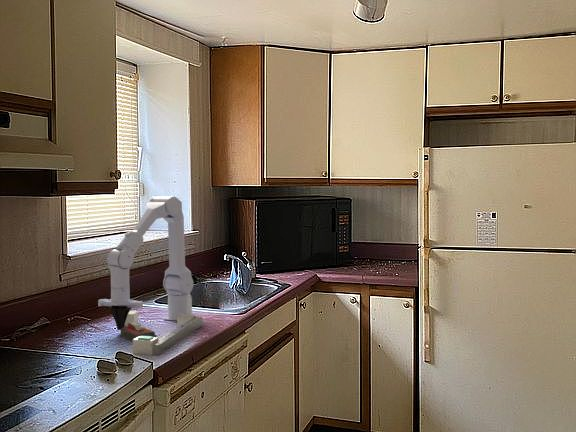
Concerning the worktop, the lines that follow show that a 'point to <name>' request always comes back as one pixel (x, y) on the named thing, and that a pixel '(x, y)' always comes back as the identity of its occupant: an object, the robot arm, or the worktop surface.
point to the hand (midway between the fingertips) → (120, 329)
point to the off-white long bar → (167, 336)
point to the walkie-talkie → (136, 331)
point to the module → (131, 317)
